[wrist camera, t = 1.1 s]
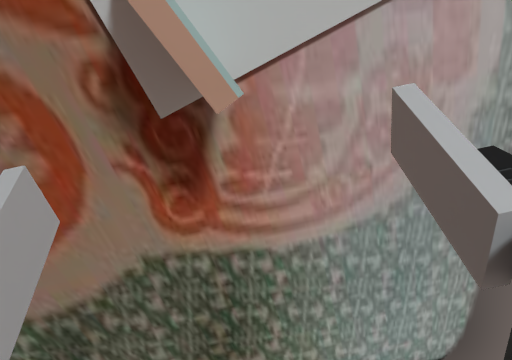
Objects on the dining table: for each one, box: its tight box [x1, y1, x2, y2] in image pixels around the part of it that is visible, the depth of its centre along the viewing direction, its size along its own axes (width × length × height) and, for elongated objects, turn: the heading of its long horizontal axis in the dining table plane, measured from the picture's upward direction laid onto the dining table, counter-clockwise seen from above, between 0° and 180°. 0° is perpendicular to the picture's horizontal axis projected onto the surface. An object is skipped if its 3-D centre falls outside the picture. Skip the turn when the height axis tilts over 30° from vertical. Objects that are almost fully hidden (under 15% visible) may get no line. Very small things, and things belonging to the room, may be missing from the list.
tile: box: [127, 0, 244, 114], centre depth 28 cm, size 2×10×9 cm, turn 36°
